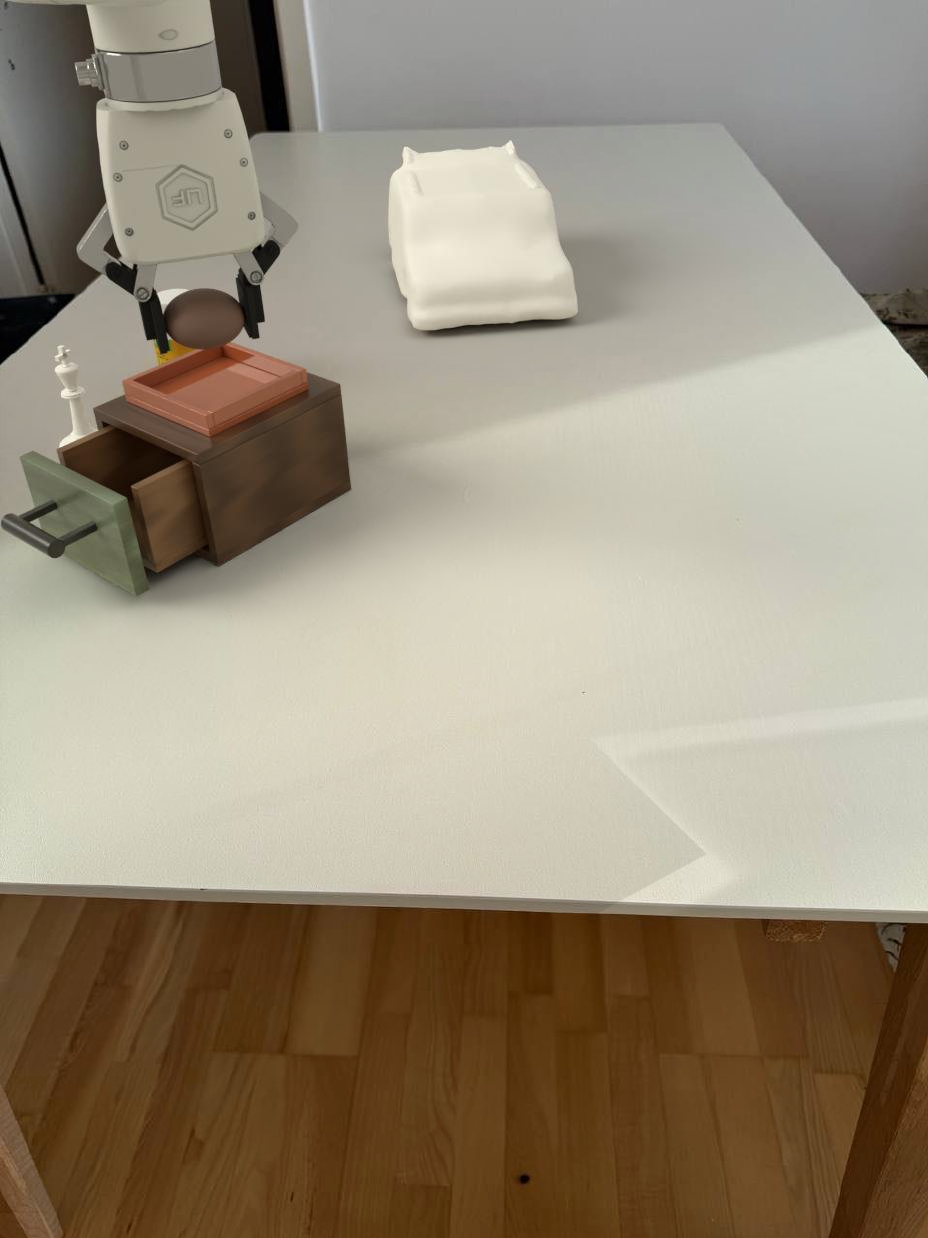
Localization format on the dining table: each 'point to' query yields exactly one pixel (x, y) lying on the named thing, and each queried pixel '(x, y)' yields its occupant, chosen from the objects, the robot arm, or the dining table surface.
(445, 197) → the flour sack
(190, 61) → the robot arm
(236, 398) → the orange square tray
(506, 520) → the dining table surface
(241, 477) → the cabinet
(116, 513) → the drawer
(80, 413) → the chess piece
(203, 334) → the egg
